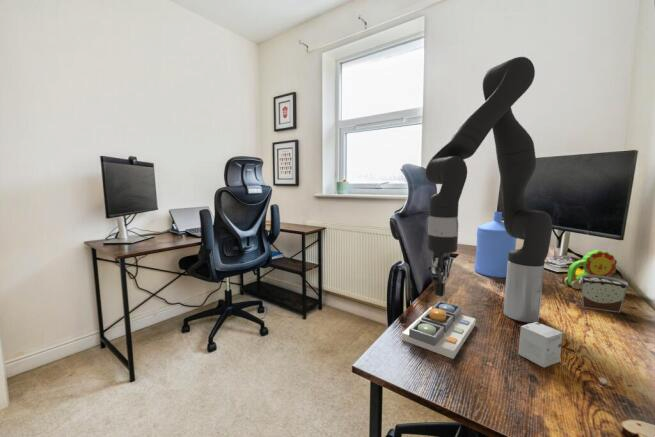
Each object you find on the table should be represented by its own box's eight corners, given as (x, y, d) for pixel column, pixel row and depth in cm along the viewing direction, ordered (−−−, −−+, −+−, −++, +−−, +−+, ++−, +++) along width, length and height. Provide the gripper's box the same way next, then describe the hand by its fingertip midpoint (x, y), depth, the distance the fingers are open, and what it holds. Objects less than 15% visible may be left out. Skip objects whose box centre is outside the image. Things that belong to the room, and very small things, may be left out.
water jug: (521, 278, 125) (527, 214, 121) (485, 278, 125) (489, 214, 122) (500, 267, 140) (505, 210, 137) (468, 267, 141) (471, 210, 137)
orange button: (448, 318, 81) (448, 311, 81) (442, 324, 78) (443, 317, 77) (432, 313, 84) (432, 307, 84) (426, 319, 81) (427, 312, 80)
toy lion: (572, 289, 112) (577, 251, 110) (563, 284, 118) (567, 248, 116) (617, 291, 111) (622, 252, 109) (605, 286, 116) (610, 249, 114)
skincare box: (544, 368, 65) (547, 338, 64) (517, 354, 71) (520, 325, 70) (560, 362, 68) (563, 332, 67) (533, 348, 73) (535, 320, 72)
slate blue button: (456, 313, 87) (456, 306, 87) (451, 318, 84) (452, 311, 84) (441, 308, 90) (441, 302, 90) (436, 313, 87) (436, 307, 87)
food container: (616, 305, 98) (620, 277, 97) (626, 313, 92) (630, 283, 91) (570, 299, 103) (574, 272, 102) (577, 306, 97) (580, 277, 96)
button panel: (475, 324, 85) (476, 310, 85) (452, 360, 68) (453, 343, 67) (431, 311, 93) (432, 299, 93) (400, 341, 76) (401, 326, 76)
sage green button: (438, 334, 75) (438, 327, 75) (431, 341, 72) (432, 334, 72) (421, 329, 78) (421, 321, 78) (414, 335, 75) (415, 328, 74)
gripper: (449, 238, 70) (446, 306, 72) (464, 231, 80) (460, 291, 82) (419, 235, 75) (417, 299, 77) (436, 228, 85) (434, 285, 87)
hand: (439, 294), depth 80 cm, fingers closed
